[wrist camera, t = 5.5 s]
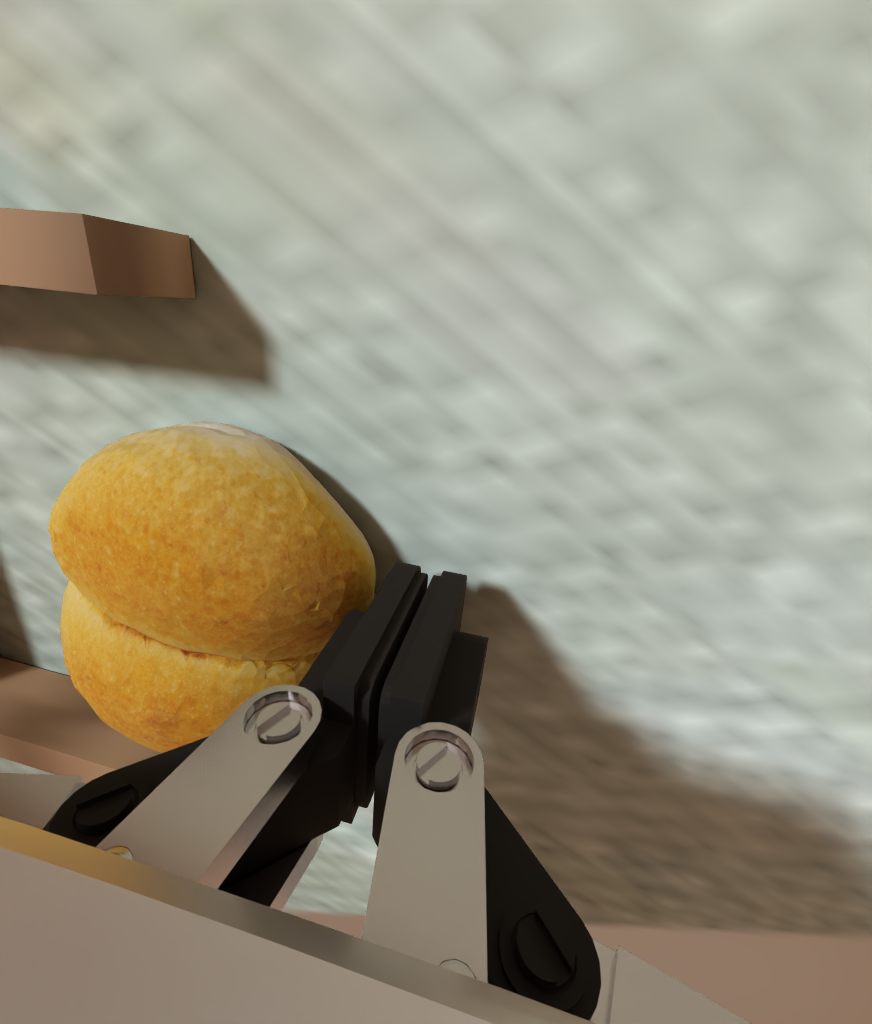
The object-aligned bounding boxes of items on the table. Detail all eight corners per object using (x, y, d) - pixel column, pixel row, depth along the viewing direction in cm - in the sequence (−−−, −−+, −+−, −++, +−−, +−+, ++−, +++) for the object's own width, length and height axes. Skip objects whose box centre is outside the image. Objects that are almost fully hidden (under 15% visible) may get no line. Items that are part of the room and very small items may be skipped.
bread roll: (414, 474, 11) (348, 553, 7) (343, 726, 15) (277, 858, 11) (105, 364, 12) (-92, 387, 8) (114, 632, 16) (-17, 728, 12)
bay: (189, 235, 10) (81, 213, 8) (246, 749, 16) (197, 819, 14) (-205, 204, 12) (-384, 179, 10) (-17, 674, 18) (-97, 726, 16)
